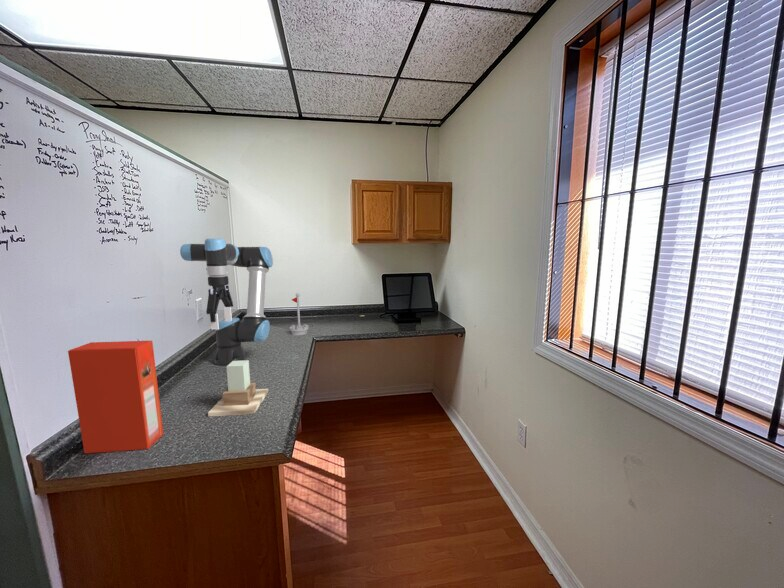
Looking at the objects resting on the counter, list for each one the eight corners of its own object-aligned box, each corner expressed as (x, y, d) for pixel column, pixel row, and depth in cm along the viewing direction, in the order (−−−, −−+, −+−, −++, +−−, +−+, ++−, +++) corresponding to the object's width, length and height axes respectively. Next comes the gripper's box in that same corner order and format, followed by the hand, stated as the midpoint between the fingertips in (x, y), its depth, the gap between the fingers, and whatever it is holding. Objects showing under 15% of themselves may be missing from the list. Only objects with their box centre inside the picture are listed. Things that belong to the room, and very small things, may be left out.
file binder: (146, 450, 92) (134, 347, 88) (83, 454, 90) (67, 350, 86) (163, 434, 100) (152, 340, 96) (105, 438, 98) (92, 342, 94)
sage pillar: (234, 384, 122) (232, 360, 121) (250, 384, 123) (248, 360, 122) (228, 391, 116) (226, 366, 115) (244, 390, 117) (243, 365, 116)
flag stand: (311, 331, 231) (309, 292, 227) (304, 335, 218) (302, 294, 214) (294, 330, 232) (292, 291, 228) (287, 335, 219) (285, 294, 215)
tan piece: (229, 393, 128) (227, 379, 128) (268, 391, 130) (267, 377, 129) (208, 416, 111) (206, 399, 110) (254, 413, 112) (253, 397, 112)
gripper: (221, 273, 140) (225, 318, 143) (192, 279, 115) (198, 333, 118) (238, 273, 140) (241, 318, 144) (213, 278, 116) (218, 332, 119)
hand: (222, 325), depth 131 cm, fingers open, 13 cm apart
